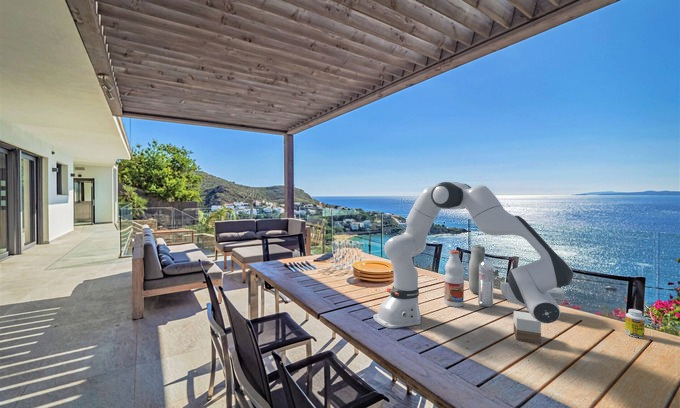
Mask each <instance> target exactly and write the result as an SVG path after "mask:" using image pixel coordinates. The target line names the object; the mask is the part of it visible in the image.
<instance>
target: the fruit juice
mask: <svg viewBox="0 0 680 408" xmlns="http://www.w3.org/2000/svg"><path fill="white" fill-rule="evenodd" d="M448 253H449V257H448V259H447V262H446V263H445V266H444V271H445V275H444V291H443V293H444V294H443V295H444V298H443V299H444V304H445V305H447V306H450V307H453V308H459V307H462V306H464V303H465V302H464V298H465V296H464V293H465V292H464V291H465V290H464V289H465V288H464V286H465V285H464V284H465V283H464V282H465V278H464V269H465V268H464V264H462V262H461V259H460V251H459V250H456V249H450V250H449V251H448Z"/></svg>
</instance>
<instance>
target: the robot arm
mask: <svg viewBox="0 0 680 408" xmlns="http://www.w3.org/2000/svg"><path fill="white" fill-rule="evenodd" d="M442 209H444V210H459V209H460V210H461V209H462V210H464V209H466V210H467V212H468V213H469V214H470V216H471V219H472V220H473V222H474V223H475V225H476V227H477V228H478V230H479V231H480V232H482V233H483V234H486V235H489V236H496V237H497V236H517V237H522V238H524V239H525V241H527V243H529V245H530V246H531V247H532V248H533V250H535V252H537V254H538V255H539V256H540V258H539V259H537V260H535V261H532V262H529V263H526V264H524V265H520V266H518V267H515V268H512V269H510V270H509V271H508V273H507V277H506V279H507V281H506V282H505V281H502V282H500V292H501V294H502V295H503V296H504V297H505V298H506V299H507V302H508V303H510V304H515V305H518V306H522V307H524V308H526V309H527V311H528V313H530V314H531V315H532V316H533V317H534V318H535V319H536V320H537V321H539V322H541V324H551V323H554V322H556V321H557V320H559V318H560V317H561V309H560V306H559V304H558V303H560V304H561V303H564V302H566V301H570V297H568V296H567V295H565V291H564V289H563V288H562V287H567V286H570V284H571V282H572V280H573V278H574V272H573V270H572V268H571V266H570V265H569V264H568V262H567V261H565V260H564V258H562V257H561V256H559V255H558V254H557V253H556V251H555V250H554V249H552V247H551V246H550V245H549V244H548V243H547V242H546V241H545V240H544V239H543V238H542V236H541V235H539V233H538V232H537V231H536V230H535V228H533V227H532V226H531V224H529V223H528V222H527V220H525V219H524V218H523V217H522V216H520V215H513V214H511V213H510V212H508V211H507V210H506V209H505V208H504V206H503V205H502V202H500V200H499V198H498V197H497V196H496V195H495V194H494V192H493V191H492V190H490V188H489V187H487V185H483V184H481V185H480V184H479V185H475V186H470V185H468V184H466V183H461V182H456V181H453V182H451V181H450V182H449V181H443V182H439V183H437V184H435V185H434V187H433V186H428V187H425V188H424V189H423V190H422V191H421V192H420V194H419V195H418V196H417V198H416V200H415V201H414V203H413V206H411V209H410V211H409V213H408V215H407V217H406V220H405V223H406V227H405V230H404V232H403V233H402V234H400V235H395V236H392V237H391V238H389V239H388V240H386V241H385V243H384V245H383V246H384V248H383V249H384V251H383V252H384V254H385V256H386V257H387V258H388V259H389V260H390V263H391V265H392V269H393V286H392V287H391V288H390V287H387V288H386V292H387V293H390V294H389V296H387V297H386V298H385V299H384V300H383V302H382V303H380V304H379V307H378V313H375V314H373V316H372V317H373V320H374V321H375V322H376V323H378V324H379V325H380V326H383V327H384V328H388V329H397V328H398V329H399V328H405V327H410V326H417V325H421V320H422V315H421V311H420V307H419V305H420V304H419V296H420V295H419V293H420V290H419V284H418V283H419V278H418V277H419V273H418V272H419V271H418V269H416V267H415V265H414V263H413V262H414V260H413V257H416V256H418V255H420V254H421V253H423V252H424V251H425V250H426V248H427V237H428V234H429V231H430V229H431V227H432V225H433V224H434V222H435V220H436V218H437V217H438V214H439V213H440V211H441V210H442ZM559 287H561V288H559Z"/></svg>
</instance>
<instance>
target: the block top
mask: <svg viewBox="0 0 680 408" xmlns="http://www.w3.org/2000/svg"><path fill="white" fill-rule="evenodd" d="M514 324H515V327H516V329H517V330H522V331H529V332H535V333H541V334H542V322H539V321H537V320H536V319H535V318H534V317H533V316H532V315H531V314H530V313H529V312H525V311H518V310H513V325H514Z"/></svg>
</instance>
